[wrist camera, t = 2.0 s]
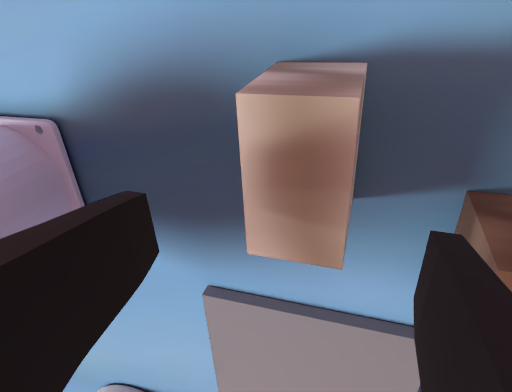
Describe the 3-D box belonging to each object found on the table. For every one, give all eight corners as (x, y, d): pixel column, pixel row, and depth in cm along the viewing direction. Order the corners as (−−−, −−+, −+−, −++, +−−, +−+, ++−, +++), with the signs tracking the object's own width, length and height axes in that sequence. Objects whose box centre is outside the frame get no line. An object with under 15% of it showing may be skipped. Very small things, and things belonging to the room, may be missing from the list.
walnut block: (436, 294, 18) (451, 387, 14) (466, 189, 15) (498, 270, 11) (516, 307, 17) (559, 413, 13) (567, 199, 14) (645, 292, 10)
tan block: (279, 189, 17) (247, 253, 13) (278, 61, 14) (235, 93, 10) (352, 198, 16) (342, 269, 12) (367, 62, 13) (359, 97, 9)
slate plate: (223, 387, 28) (219, 397, 27) (207, 285, 22) (202, 294, 22) (398, 437, 24) (399, 450, 24) (431, 330, 19) (433, 343, 18)
